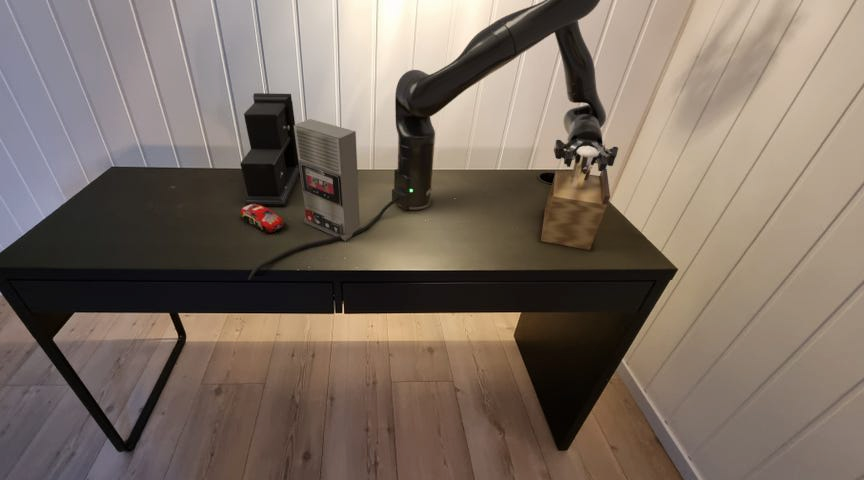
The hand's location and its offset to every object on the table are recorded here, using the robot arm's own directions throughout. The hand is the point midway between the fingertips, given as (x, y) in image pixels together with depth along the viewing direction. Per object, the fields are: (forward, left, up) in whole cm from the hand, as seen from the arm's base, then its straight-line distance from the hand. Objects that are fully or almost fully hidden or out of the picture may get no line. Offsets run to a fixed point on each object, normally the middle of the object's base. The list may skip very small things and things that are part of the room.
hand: (585, 164), depth 89 cm
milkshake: (+2, +1, -6) cm, 7 cm away
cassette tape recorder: (-49, +31, -18) cm, 60 cm away
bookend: (-54, +60, -18) cm, 82 cm away
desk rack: (+2, +1, -18) cm, 18 cm away
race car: (-63, +41, -18) cm, 78 cm away
